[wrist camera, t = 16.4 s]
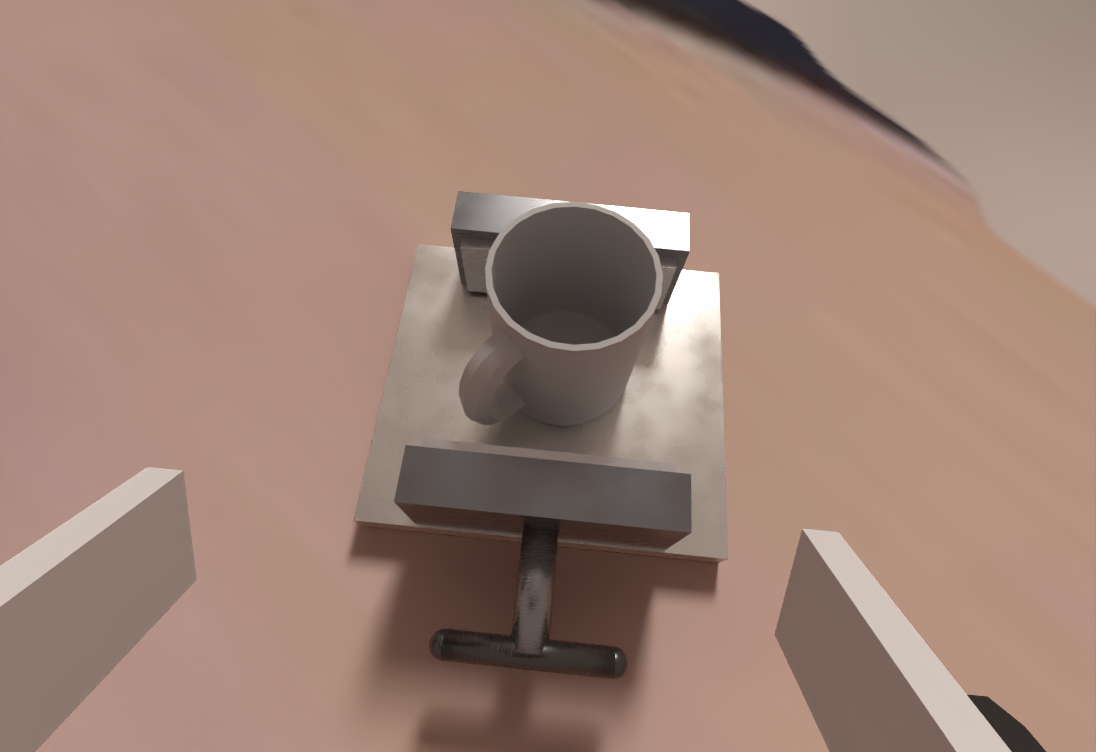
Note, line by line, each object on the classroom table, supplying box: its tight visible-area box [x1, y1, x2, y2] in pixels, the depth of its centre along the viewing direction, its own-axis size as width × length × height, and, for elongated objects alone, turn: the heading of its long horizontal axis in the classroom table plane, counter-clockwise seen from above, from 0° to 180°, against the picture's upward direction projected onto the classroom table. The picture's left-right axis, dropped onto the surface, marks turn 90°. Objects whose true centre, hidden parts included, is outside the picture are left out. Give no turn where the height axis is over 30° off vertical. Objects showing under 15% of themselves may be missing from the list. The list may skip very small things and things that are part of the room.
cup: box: [459, 202, 663, 426], centre depth 27 cm, size 7×10×9 cm
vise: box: [354, 191, 728, 679], centre depth 28 cm, size 18×22×6 cm
